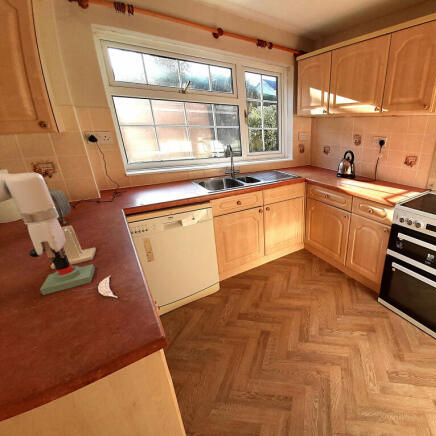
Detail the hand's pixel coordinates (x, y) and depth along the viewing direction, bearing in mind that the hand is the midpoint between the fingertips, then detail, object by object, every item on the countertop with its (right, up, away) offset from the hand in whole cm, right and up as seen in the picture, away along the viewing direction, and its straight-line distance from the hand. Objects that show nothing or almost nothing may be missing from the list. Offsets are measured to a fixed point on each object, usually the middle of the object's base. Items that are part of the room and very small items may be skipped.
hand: (63, 267), depth 79 cm
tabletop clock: (-51, +13, +51) cm, 74 cm away
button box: (0, -5, +2) cm, 6 cm away
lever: (-14, +6, +11) cm, 19 cm away
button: (0, -2, +1) cm, 2 cm away
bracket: (-10, 0, +16) cm, 19 cm away
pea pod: (+16, -7, -2) cm, 18 cm away
